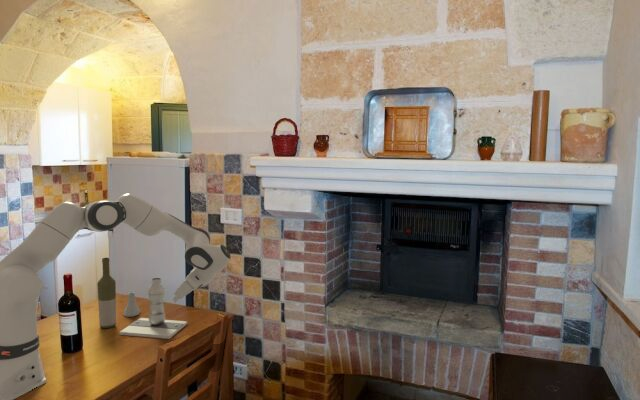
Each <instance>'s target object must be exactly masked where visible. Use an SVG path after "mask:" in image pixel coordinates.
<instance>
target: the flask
mask: <svg viewBox="0 0 640 400" xmlns="http://www.w3.org/2000/svg"><path fill="white" fill-rule="evenodd" d="M135 295H136V293H135V292H128V293H127V303H126V306H125V309H124V311H123V313H122V316H124V317H127V318H132V317H136V316H139V315H140V314H141V311H140V308H139V306H138V304H137V301H136V298H135Z"/></svg>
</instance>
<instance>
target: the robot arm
mask: <svg viewBox="0 0 640 400" xmlns="http://www.w3.org/2000/svg"><path fill="white" fill-rule="evenodd" d="M121 223H123V224H125V225H127V226H129V227H130V228H132V229H133V230H135V231H137V232H138V233H140V234H142V235H144V236H147V237H152V236H156V235H158V234H160V233H161V232H162V231H165V232H166V231H167V232H169V233H171V234H172V235H175V236H177V237H178V238H180V239H182V240H183V242H184V244H185V247H184V248H185V249H184V259H185V261H186V263H187V264H189V266H190V265H191V266H192V267H194V268H193V269H191V270H190V272H189V274H187V276H186V277H185V278H184V279H185V280H184V281H183V282H182V283H181V284H180V285H179V287H177V288H176V290H175V292H174V293H173V294H174V297H173V299H172V301H173V302H174V303H176V302H178V301H179V300H182V299H183V298H185V297H186V296H187V295H188V294H191V292H192V291H194V290H197V289H199V288H203V287H207V286H208V284H210V282H211V281H213V279H215V277H216V275H217V274H220V272H222V271H223V270H224V269H225V267H227V266H228V264H229V263H230V261H231V253H230V251H229V249H228V247H226V246H225V245H224V244H216V245H215V244H211V236H210V234H209V232H207V231H206V230H205V229H202V228H199V227H194V226H192V225H190V224H189V223H187V222H185V221H183V220H181V219H179V218H177V217H176V216H174V215H172V214H170V213H167V212H164V211H162V210H160V209H159V208H157V207H155V206H154V205H153V204H151V203H150V202H148V201H146V200H144V199H143V198H140V197H138V196H136V195H135V194H132V193H124V194H122V195H120V196H119V197H118V198H116V200H115V201H114V200H96V201H93V202H90V203H87V204H86V205H83V206H80V205H78V204H76V203H75V202H72V201H71V202H70V201H63V202H60V203H59V204H57V205H56V206H55V207H53V209H51V210H50V212H48V214H46V215H45V216H44V217H43V218H42V219H41V220H40V222H39V223H38V224H37V225H36V227H34V228H33V229H32V231H31V232H30V233H29V234H28V236H27V237H26V238H25V239H24V240H23V241H22V242H21V243H20V244H19V245H18V246H16V247H15V248H14V249H13V250H12V251H11V252H9V253H8V254H7V255H6V256H5V257H4V258H3V259H1V260H0V400H16V399H18V398H19V397H21V396H23V395H25V394H27V393H29V392H30V391H32V389H33V390H35V389H36V387H37V388H39V387H41V386H42V385H44V384H46V383H47V378H46V373H45V371H44V368H43V362H42V357H41V354H40V350H39V347H40V337H39V336H40V335H39V334H38V323H37V320H38V319H37V310H38V305H39V299H40V295H41V293H42V291H43V281H42V279H41V277H40V275H39V274H38V272H40V271H41V270H42V269H43V268H44V267H45V266H47V265H48V264H50V263H52V262H54V261H55V260H56V259H57V258H58V257H59V256H60V254H61V253H62V252H63V251H64V250H65V248H66V247H67V245H68V244H69V243H70V242H71V241H72V239H73V238H74V237H75V235H76V234H77V233H79V231H80V230H82V229H84V230H87V231H91V232H98V233H103V232H107V231H111V230H114V229H115V228H116V227H118V226H119V225H120V224H121ZM34 388H35V389H34Z"/></svg>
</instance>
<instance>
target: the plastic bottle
mask: <svg viewBox="0 0 640 400" xmlns="http://www.w3.org/2000/svg"><path fill="white" fill-rule="evenodd" d="M150 284H151V285H150V287H149V288H148V291H147V294H148V299H149V315H148V318H149V322H150V324H152V325H160V324H162V323H164V321H165V320H166V313H165V308H164V298H165V288H164V287H163V285H162V278H161V277H153V278H151V282H150Z"/></svg>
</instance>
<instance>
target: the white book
mask: <svg viewBox="0 0 640 400" xmlns="http://www.w3.org/2000/svg"><path fill="white" fill-rule="evenodd" d="M186 325H188V321H187V320H186V321H184V320H175V319H174V320H173V319H172V320H171V319H165V321H164V323H162V324H160V325H152V324H150V322H149V317H140V318H138V319H136V320H134V321H132V322H131V323H130V324H129V325H128V326H126V327H125V328H123V329H122V330H120V331H119V335H120V336H121V335H122V336H133V337H145V338H156V339H167V340H170V339H171V338H172V337H173V336H175V335H176V334H177V333H178V332H180V331H181V330H182V329H183V328H184V327H186Z"/></svg>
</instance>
